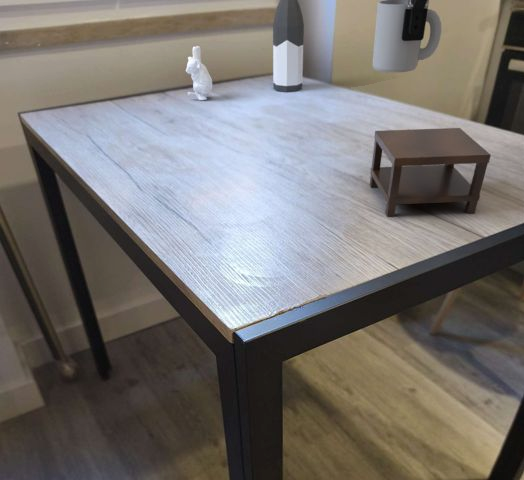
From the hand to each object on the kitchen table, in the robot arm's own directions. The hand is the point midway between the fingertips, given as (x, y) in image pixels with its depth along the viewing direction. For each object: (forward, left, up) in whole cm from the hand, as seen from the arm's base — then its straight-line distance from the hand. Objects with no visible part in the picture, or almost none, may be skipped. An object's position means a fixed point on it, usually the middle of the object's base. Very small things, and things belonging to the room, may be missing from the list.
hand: (405, 35), depth 80 cm
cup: (0, 0, -5) cm, 5 cm away
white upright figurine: (+37, -56, -22) cm, 71 cm away
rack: (-2, +13, -21) cm, 25 cm away
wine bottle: (+13, -64, -22) cm, 69 cm away
